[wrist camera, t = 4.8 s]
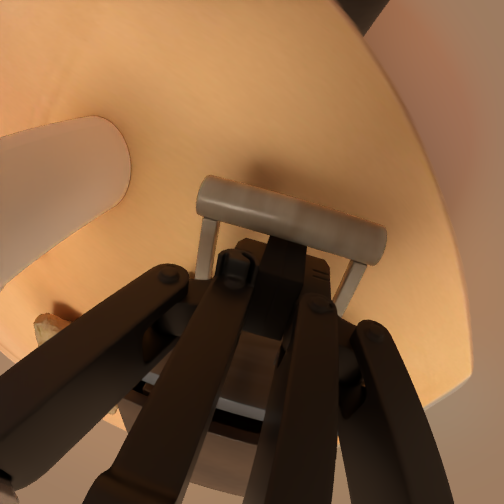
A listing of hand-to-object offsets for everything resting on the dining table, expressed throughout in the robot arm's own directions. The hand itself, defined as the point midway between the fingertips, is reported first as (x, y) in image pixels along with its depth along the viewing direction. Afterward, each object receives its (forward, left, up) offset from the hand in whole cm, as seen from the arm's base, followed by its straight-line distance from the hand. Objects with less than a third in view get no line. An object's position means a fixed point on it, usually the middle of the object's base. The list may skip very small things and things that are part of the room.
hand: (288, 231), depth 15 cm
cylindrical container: (+9, -11, -2) cm, 14 cm away
